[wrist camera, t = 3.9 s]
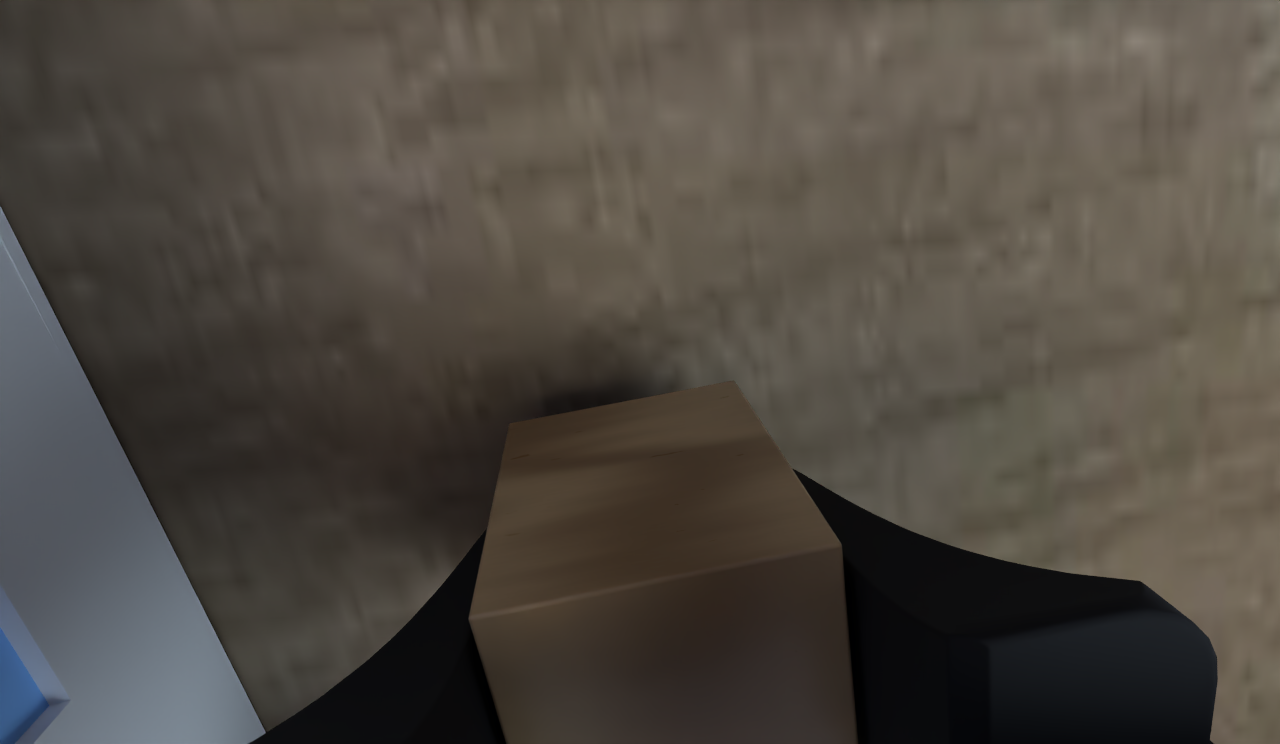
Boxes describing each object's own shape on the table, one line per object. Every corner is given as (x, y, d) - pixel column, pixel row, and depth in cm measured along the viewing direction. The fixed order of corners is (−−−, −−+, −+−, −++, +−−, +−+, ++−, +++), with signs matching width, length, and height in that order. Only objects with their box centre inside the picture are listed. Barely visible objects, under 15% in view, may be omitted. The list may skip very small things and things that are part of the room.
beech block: (555, 611, 16) (547, 885, 10) (507, 422, 14) (466, 617, 8) (759, 570, 16) (865, 817, 10) (734, 379, 14) (843, 543, 9)
